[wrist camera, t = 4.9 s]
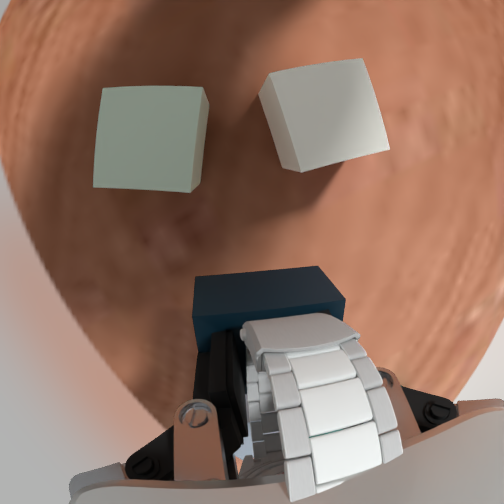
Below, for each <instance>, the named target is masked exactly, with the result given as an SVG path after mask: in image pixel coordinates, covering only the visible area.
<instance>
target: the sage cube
mask: <svg viewBox="0 0 504 504" xmlns="http://www.w3.org/2000/svg"><path fill="white" fill-rule="evenodd" d="M208 113H209V102H208V100H207V97H206V94H205V91H204V89H203V87H192V86H127V87H110V88H103V90H102V96H101V103H100V110H99V117H98V125H97V134H96V145H95V157H94V174H93V187H95V188H121V189H141V190H158V191H173V192H186V193H191V192H192V191H193V190H194V189H195V188H196V187H197V186H198V185H199V184H200V182H201V172H202V162H203V153H204V145H205V136H206V128H207V120H208Z"/></svg>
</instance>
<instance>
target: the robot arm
mask: <svg viewBox="0 0 504 504" xmlns="http://www.w3.org/2000/svg"><path fill="white" fill-rule="evenodd" d="M316 313H324V314H328V315H331V313H330V311H329V309H327V310H323V311H318V312H316ZM331 316H332V315H331ZM376 369H377V371H378V372H379V374H380V376H381V378H382V380H383V384H382V385H381V386H383V387H385V389H386V391H387V393H388V396H389V399H390V401H391V404H392V407H393V410H394V413H395V417H396V420H397V427H396V428H395V429H392V430H398V431H399V433H400V438H401V443H402V449H403V454H401V455H400V456H398V457H396V458H395V459H393V460H391V461H389V462H387V463H385V464H384V463H383V461H382V463H381V464H380V465H378V466H375V467H373V468H370V469H367V470H364V471H361V472H359V473H356V474H352V475H349V476H346V477H343V478H339V479H336V480H332V481H329V482H325V483H321V484H315V486H317V485H322V484H327V483H332V482H336V481H344V482H343V483H341V484H340V485H337V486H335V487H332V488H330V489H328V490H325V491H322V492H320V493H316V494H315V495H312V496H309V497H306V498H303V499H300V500H297V501H293V502H290V499H289V495H288V491H287V487H286V482H285V474H279V475H272V476H265V477H256V478H247V479H239V476H238V471H237V465H236V459H235V454H234V453H235V452H236V451H237V450H238V449H239V448H240V447H241V445H244V439H243V437H248V424H247V411H246V398H245V386H244V380H243V374H242V369H241V364H240V359H239V354H238V349H237V345H236V341H235V338H234V335H233V332H232V330H228V331H226V330H225V331H220V332H214V333H212V336H211V350H210V352H202V353H199V352H198V356H197V364H196V373H195V382H194V392H193V400H189V401H187V402H185V403H183V404H182V405H180V406H179V407H178V409H177V410H176V412H175V415H174V425H173V426H172V427H171V428H169V429H168V430H166V431H165V432H164V433H162V434H161V435H160V436H158V437H157V438H155V439H154V440H153V441H151V442H150V443H148V444H147V445H145V446H144V447H142V448H141V449H140V450H138V451H137V452H135V453H134V454H132V455H131V456H130V457H129V458H128V460H127V461H126V463H124V464H120V463H115V464H112V465H109V466H105V467H102V468H99V469H95V470H92V471H88V472H84V473H80V474H78V475H75V476H74V477H73V478H72V479H71V481H70V484H69V490H70V495H71V500H70V502H69V504H504V401H503V400H501V399H485V400H469V401H458V402H457V404H453V402H451V401H450V400H449V399H446V398H443V397H439V396H435V395H432V394H428V393H424V392H420V391H417V390H413V389H410V388H406V387H403V386H401V385H400V383H399V381H398V379H397V377H396V376H395V374H394V373H393V372H391V371H390V370H388V369H385V368H379V367H376ZM367 422H368V421H367ZM367 422H364V423H367ZM364 423H360V424H357V425H361V424H364ZM357 425H354V426H357ZM354 426H350V427H354ZM350 427H347V428H350ZM347 428H343V429H347ZM392 430H390V431H392ZM387 432H389V431H387ZM387 432H385V433H387ZM382 434H384V433H382ZM379 435H381V434H379Z"/></svg>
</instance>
